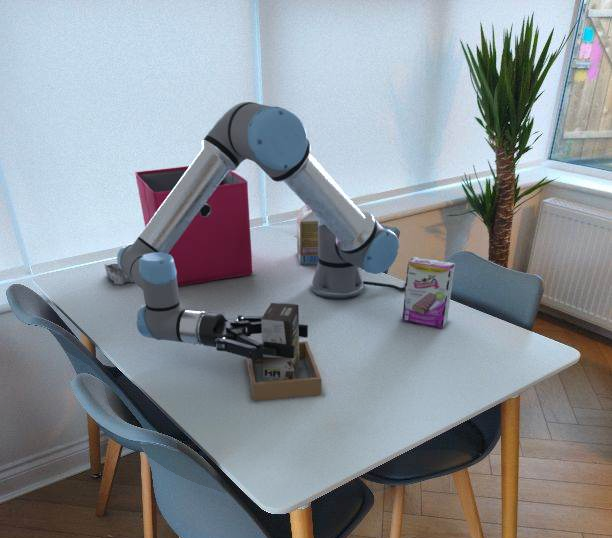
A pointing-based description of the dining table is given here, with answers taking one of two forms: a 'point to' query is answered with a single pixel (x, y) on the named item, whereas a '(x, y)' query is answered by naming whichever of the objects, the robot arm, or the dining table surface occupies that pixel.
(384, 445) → the dining table surface
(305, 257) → the milk carton
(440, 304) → the candy bar box
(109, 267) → the egg carton
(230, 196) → the storage bin
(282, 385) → the wooden box
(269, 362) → the coffee box
